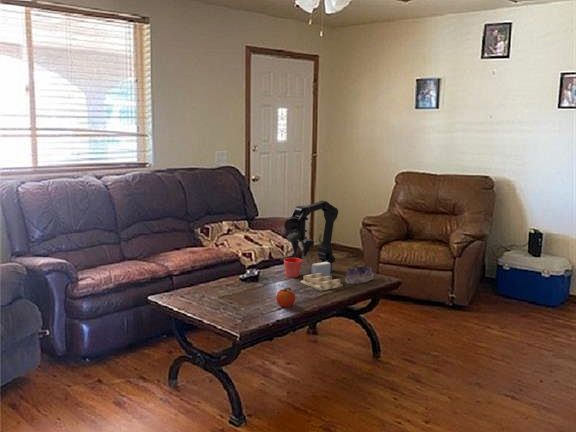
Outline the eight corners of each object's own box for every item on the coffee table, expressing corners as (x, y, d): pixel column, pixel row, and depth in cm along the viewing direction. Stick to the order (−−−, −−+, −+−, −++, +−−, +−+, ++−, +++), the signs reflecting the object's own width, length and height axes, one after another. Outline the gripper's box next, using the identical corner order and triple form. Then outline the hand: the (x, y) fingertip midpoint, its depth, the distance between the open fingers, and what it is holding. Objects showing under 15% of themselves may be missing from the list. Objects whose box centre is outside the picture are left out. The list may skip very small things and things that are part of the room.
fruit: (286, 301, 303) (286, 282, 301) (298, 306, 296) (299, 287, 294) (271, 305, 297) (272, 285, 295) (284, 310, 290) (285, 290, 288)
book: (325, 274, 356) (326, 261, 354) (329, 276, 353) (330, 263, 351) (311, 277, 349) (312, 263, 348) (315, 278, 346) (316, 265, 345)
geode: (357, 287, 333) (356, 270, 332) (341, 285, 340) (339, 268, 339) (377, 279, 348) (376, 262, 347) (360, 277, 356) (359, 261, 354)
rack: (322, 278, 347) (322, 271, 346) (342, 286, 333) (343, 279, 332) (300, 282, 337) (300, 275, 337) (321, 290, 323) (321, 283, 323)
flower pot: (280, 277, 346) (281, 260, 344) (286, 272, 357) (286, 256, 355) (298, 279, 343) (298, 263, 341) (303, 274, 354) (304, 258, 352)
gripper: (279, 226, 345) (279, 252, 348) (299, 232, 330) (298, 260, 333) (295, 224, 351) (294, 250, 355) (314, 230, 337) (314, 257, 340)
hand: (299, 254), depth 345 cm, fingers open, 9 cm apart
